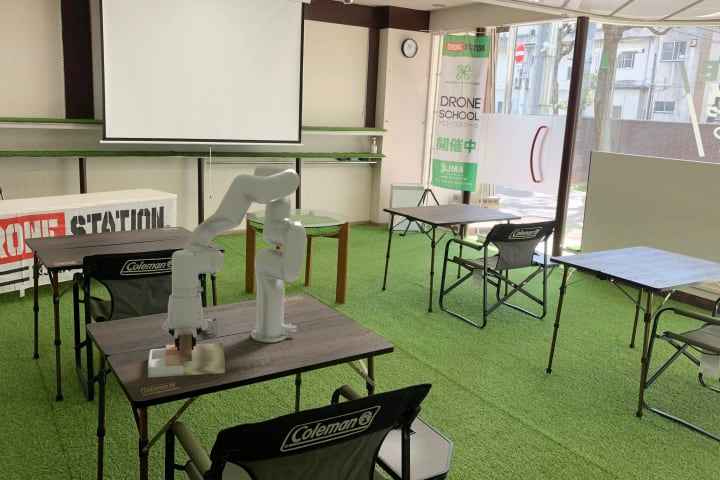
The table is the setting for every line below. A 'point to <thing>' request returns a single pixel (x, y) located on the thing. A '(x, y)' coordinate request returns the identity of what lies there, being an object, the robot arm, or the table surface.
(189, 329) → the brown tapered block
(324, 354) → the table surface
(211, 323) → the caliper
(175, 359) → the tan wooden cube
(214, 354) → the beige flat block
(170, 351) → the pink cube
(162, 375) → the tray
